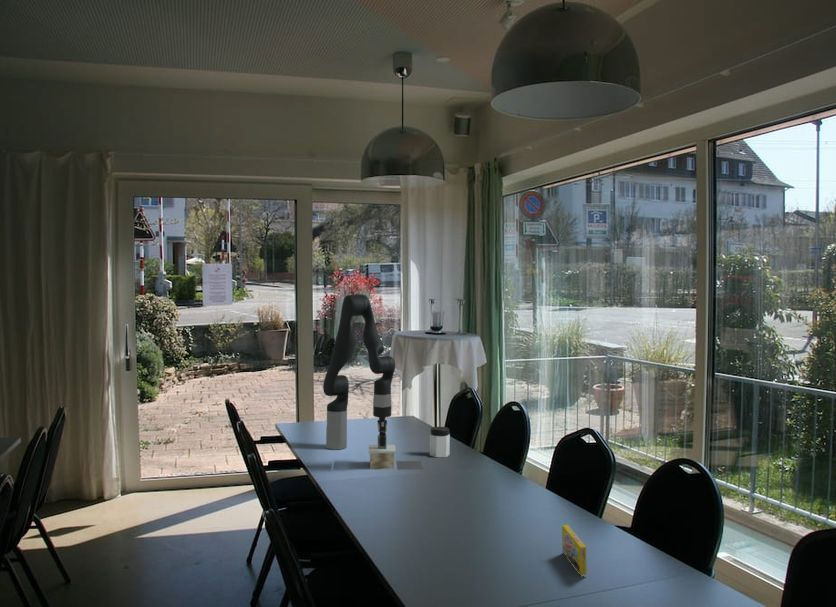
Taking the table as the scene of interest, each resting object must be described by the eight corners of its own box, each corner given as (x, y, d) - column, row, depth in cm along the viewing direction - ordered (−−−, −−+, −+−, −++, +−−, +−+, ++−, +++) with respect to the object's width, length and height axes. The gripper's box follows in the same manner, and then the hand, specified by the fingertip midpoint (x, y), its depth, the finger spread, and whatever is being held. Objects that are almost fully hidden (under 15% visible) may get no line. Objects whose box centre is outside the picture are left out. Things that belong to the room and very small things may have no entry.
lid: (368, 455, 282) (368, 439, 281) (368, 449, 293) (368, 433, 292) (395, 455, 282) (395, 438, 282) (394, 449, 293) (394, 433, 293)
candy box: (561, 553, 198) (561, 524, 198) (568, 553, 198) (569, 524, 198) (579, 577, 182) (579, 546, 181) (587, 577, 182) (587, 546, 182)
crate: (370, 469, 283) (370, 452, 282) (370, 463, 292) (370, 447, 292) (393, 469, 283) (394, 452, 283) (392, 463, 293) (393, 447, 293)
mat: (397, 470, 282) (397, 469, 282) (396, 462, 295) (396, 461, 295) (423, 470, 282) (423, 469, 282) (420, 462, 295) (420, 460, 295)
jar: (453, 455, 307) (453, 429, 306) (439, 458, 302) (439, 431, 301) (439, 452, 314) (440, 425, 313) (426, 454, 308) (426, 427, 308)
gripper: (373, 401, 294) (372, 440, 294) (373, 407, 279) (373, 447, 280) (390, 401, 294) (390, 439, 295) (392, 407, 280) (391, 447, 280)
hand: (382, 443), depth 287 cm, fingers open, 8 cm apart
